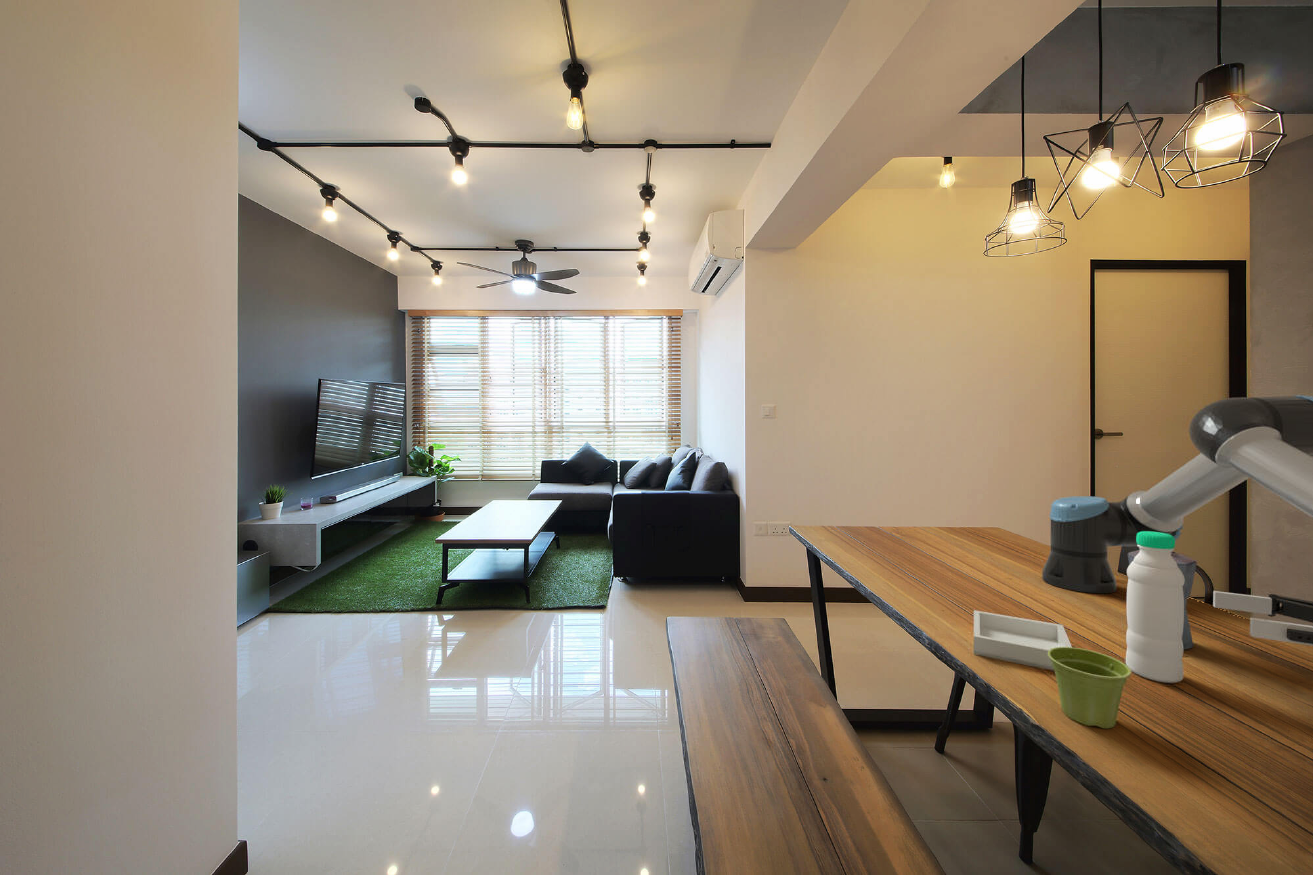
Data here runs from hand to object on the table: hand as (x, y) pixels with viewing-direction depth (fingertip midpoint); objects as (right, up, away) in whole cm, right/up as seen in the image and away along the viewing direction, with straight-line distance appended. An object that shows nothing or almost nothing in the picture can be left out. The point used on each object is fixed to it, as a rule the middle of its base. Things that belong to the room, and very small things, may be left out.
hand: (1230, 611), depth 80 cm
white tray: (-23, -13, +16) cm, 31 cm away
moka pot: (+7, -12, +19) cm, 24 cm away
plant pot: (-29, -14, -6) cm, 33 cm away
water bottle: (-7, -13, +5) cm, 16 cm away
